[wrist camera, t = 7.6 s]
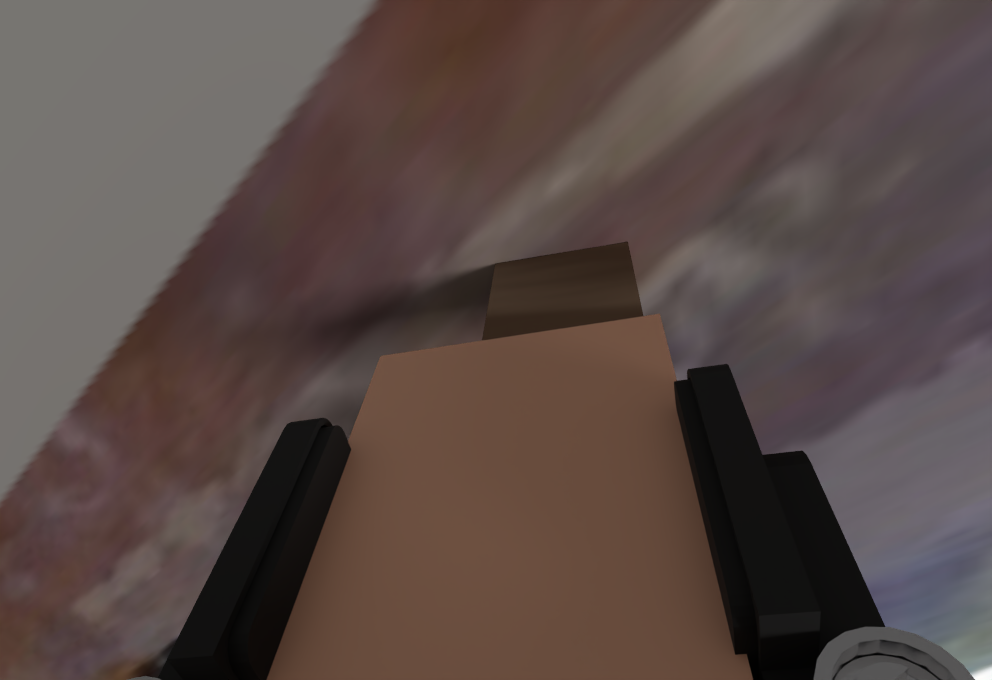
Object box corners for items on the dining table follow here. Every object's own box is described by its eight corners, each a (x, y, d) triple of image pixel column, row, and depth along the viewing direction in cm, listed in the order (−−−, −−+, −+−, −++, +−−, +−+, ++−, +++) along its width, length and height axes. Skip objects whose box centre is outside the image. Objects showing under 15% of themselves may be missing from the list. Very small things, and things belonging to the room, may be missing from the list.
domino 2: (667, 389, 13) (840, 1122, 5) (405, 423, 14) (215, 1096, 6) (659, 313, 12) (848, 1053, 4) (380, 355, 13) (124, 1033, 5)
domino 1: (632, 280, 27) (663, 431, 19) (504, 300, 27) (483, 452, 20) (627, 241, 26) (657, 383, 18) (495, 263, 27) (470, 407, 19)
